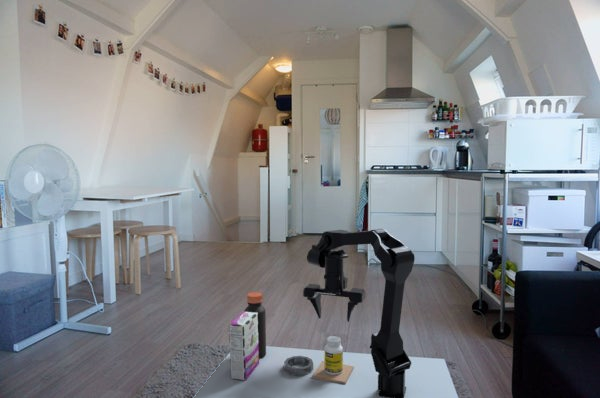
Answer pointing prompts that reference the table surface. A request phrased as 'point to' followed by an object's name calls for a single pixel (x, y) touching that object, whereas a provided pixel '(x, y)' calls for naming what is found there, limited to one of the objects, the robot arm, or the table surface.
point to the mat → (338, 378)
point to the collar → (299, 370)
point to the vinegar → (255, 306)
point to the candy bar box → (244, 345)
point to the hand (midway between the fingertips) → (334, 319)
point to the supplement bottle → (333, 356)
